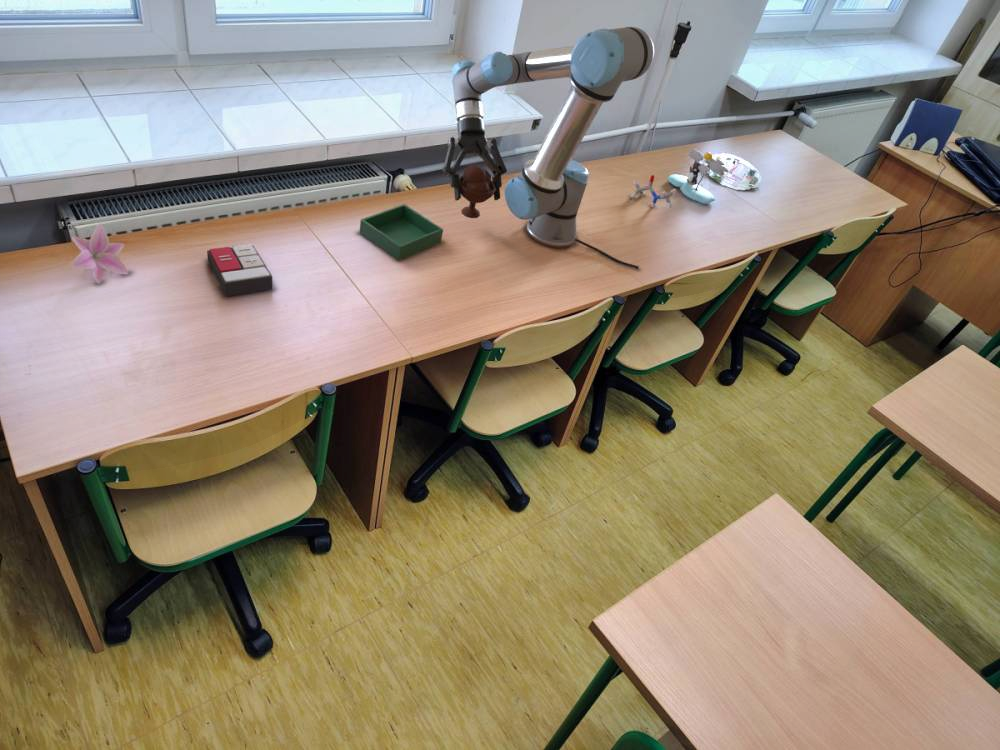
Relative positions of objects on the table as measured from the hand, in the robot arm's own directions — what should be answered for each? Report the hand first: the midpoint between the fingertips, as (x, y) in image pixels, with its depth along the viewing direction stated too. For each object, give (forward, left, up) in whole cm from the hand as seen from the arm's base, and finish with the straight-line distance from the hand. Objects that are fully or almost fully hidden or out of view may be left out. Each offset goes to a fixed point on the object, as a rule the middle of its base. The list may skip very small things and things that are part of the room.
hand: (478, 199), depth 198 cm
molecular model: (-21, -69, -11) cm, 73 cm away
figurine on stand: (-25, -93, -11) cm, 97 cm away
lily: (+34, +89, -11) cm, 96 cm away
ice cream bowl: (+3, -1, -6) cm, 7 cm away
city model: (-27, -123, -11) cm, 127 cm away
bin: (+9, +20, -11) cm, 24 cm away
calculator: (+17, +65, -11) cm, 68 cm away
